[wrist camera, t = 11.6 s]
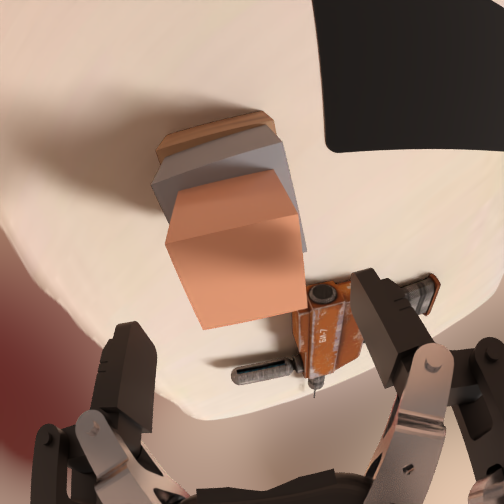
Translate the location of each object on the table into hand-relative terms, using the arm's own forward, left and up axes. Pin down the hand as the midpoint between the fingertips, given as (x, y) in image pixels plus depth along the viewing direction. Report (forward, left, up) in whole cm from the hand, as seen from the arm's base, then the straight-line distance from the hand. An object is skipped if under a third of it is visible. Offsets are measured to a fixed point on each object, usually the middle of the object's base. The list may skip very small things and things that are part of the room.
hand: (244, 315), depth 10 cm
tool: (+29, +8, -17) cm, 35 cm away
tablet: (-8, +23, -17) cm, 30 cm away
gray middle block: (0, 0, -12) cm, 12 cm away
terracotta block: (0, 0, -7) cm, 7 cm away
